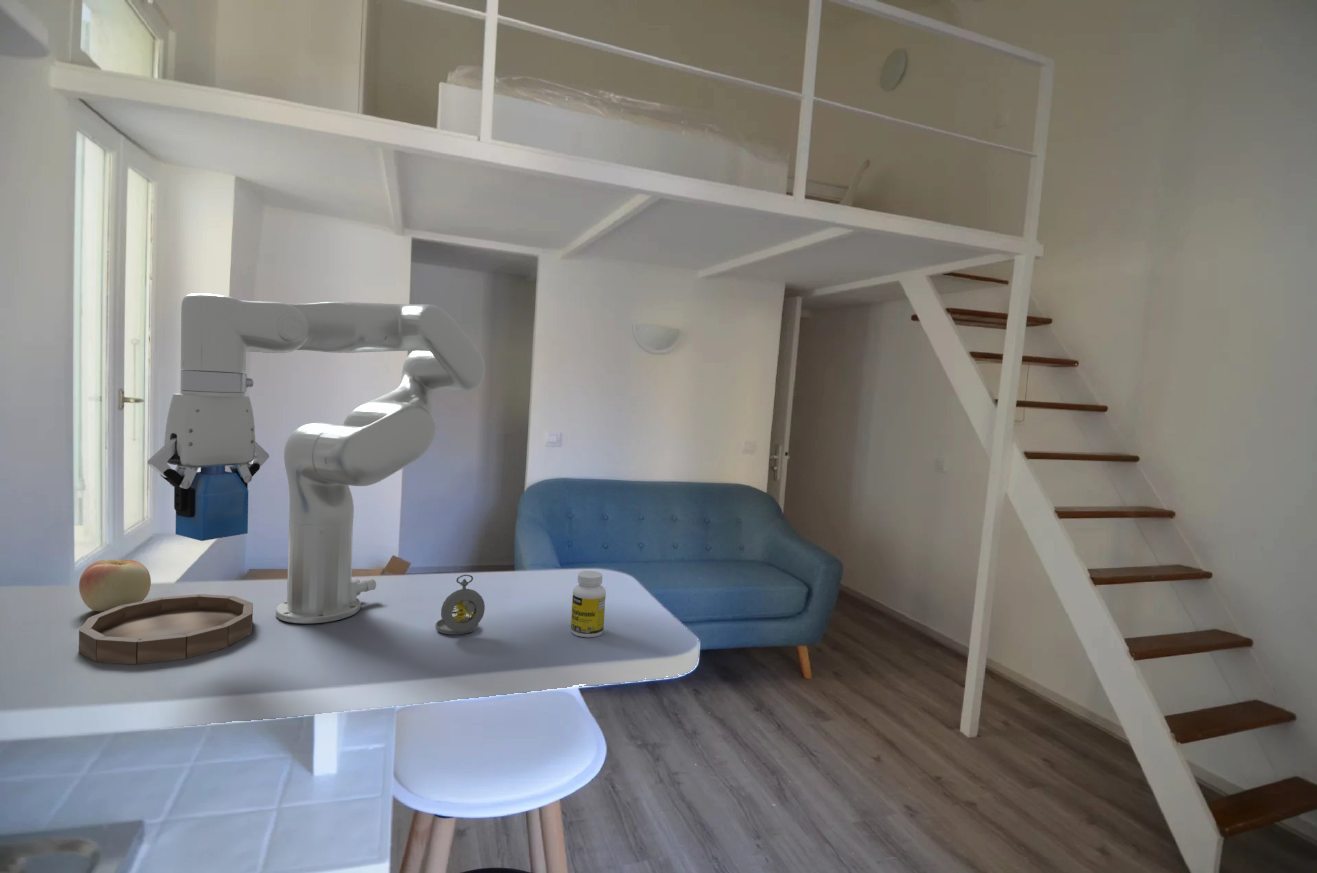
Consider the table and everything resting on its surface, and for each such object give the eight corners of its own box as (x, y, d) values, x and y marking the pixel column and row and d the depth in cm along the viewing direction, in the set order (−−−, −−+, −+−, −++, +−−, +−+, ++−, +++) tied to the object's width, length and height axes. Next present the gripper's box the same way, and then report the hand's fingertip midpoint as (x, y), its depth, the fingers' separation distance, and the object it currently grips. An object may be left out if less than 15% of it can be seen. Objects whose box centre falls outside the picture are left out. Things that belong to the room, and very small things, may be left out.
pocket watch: (455, 619, 111) (458, 560, 111) (495, 630, 108) (498, 569, 107) (418, 634, 104) (420, 571, 103) (459, 645, 100) (462, 580, 100)
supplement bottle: (564, 634, 107) (567, 575, 107) (580, 624, 112) (583, 567, 112) (594, 640, 105) (597, 580, 105) (609, 630, 110) (612, 572, 110)
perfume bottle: (247, 533, 95) (249, 450, 94) (201, 541, 89) (202, 452, 88) (221, 527, 98) (222, 446, 97) (175, 534, 92) (176, 448, 91)
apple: (68, 612, 104) (68, 561, 104) (132, 597, 112) (133, 551, 112) (98, 623, 100) (98, 571, 100) (162, 607, 108) (163, 559, 108)
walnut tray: (210, 604, 111) (210, 587, 111) (279, 632, 101) (279, 613, 101) (56, 639, 94) (56, 618, 93) (121, 676, 84) (121, 653, 83)
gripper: (257, 385, 101) (255, 501, 103) (126, 381, 86) (126, 518, 87) (289, 388, 98) (287, 508, 99) (159, 384, 83) (158, 526, 84)
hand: (212, 511), depth 93 cm, fingers closed on perfume bottle, 6 cm apart
